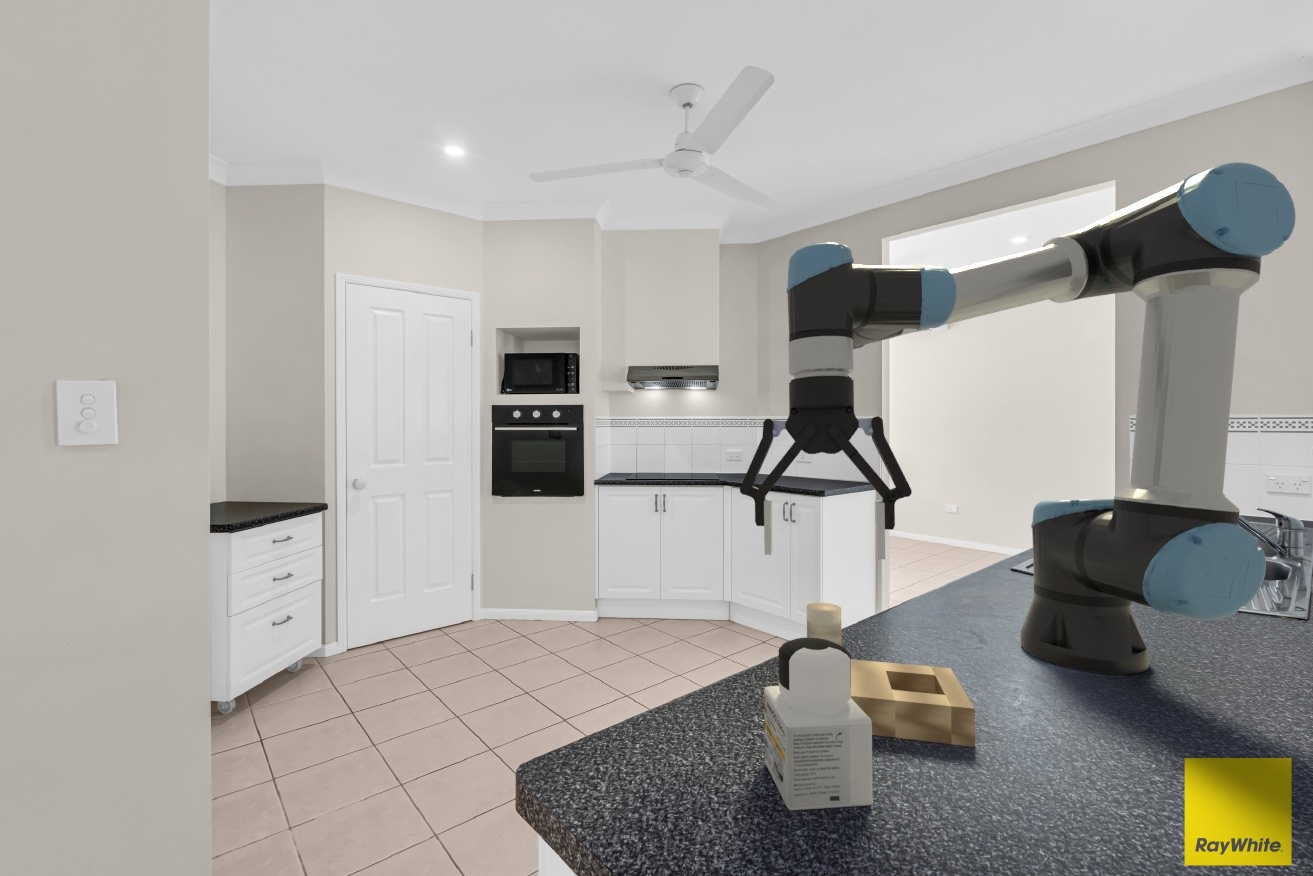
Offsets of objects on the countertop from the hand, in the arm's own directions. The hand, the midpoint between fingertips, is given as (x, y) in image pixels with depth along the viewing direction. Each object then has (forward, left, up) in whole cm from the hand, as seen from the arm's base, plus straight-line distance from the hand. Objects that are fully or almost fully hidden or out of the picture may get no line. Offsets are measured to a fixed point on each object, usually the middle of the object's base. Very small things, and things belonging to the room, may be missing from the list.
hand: (823, 555), depth 69 cm
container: (+1, +16, -19) cm, 25 cm away
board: (-5, 0, -18) cm, 19 cm away
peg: (0, 0, -18) cm, 18 cm away
